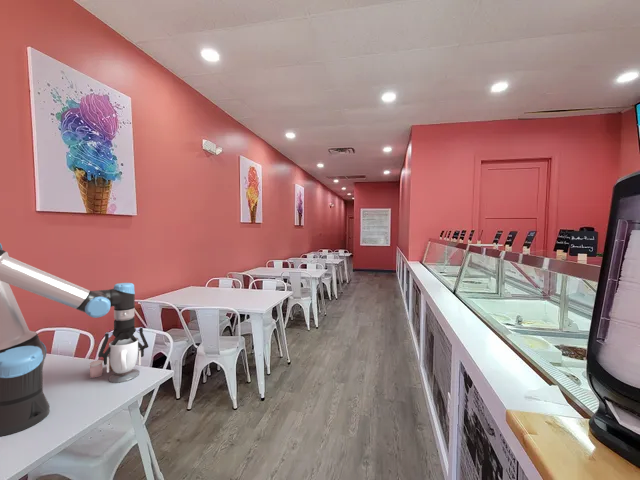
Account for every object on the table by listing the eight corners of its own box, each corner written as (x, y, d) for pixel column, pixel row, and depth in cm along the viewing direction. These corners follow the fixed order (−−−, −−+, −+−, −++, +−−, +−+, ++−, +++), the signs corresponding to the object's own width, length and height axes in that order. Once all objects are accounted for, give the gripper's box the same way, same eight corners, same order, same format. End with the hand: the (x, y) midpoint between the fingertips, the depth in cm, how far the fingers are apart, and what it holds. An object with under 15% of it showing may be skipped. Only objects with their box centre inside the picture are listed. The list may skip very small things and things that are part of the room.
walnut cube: (111, 371, 130) (111, 362, 130) (108, 368, 132) (108, 360, 132) (121, 368, 133) (121, 359, 133) (118, 365, 136) (118, 357, 136)
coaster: (109, 385, 118) (109, 384, 118) (108, 375, 127) (108, 373, 127) (140, 377, 124) (140, 376, 124) (138, 368, 133) (138, 367, 133)
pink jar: (89, 379, 123) (89, 365, 123) (89, 374, 127) (89, 361, 127) (102, 375, 126) (102, 362, 126) (102, 371, 129) (102, 359, 129)
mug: (139, 375, 121) (139, 345, 121) (107, 382, 115) (107, 351, 115) (138, 362, 134) (138, 335, 134) (109, 368, 128) (109, 339, 128)
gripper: (90, 325, 115) (90, 378, 115) (155, 316, 129) (155, 363, 129) (90, 320, 121) (90, 371, 121) (153, 312, 135) (153, 358, 135)
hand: (124, 367), depth 125 cm, fingers closed on mug, 11 cm apart
